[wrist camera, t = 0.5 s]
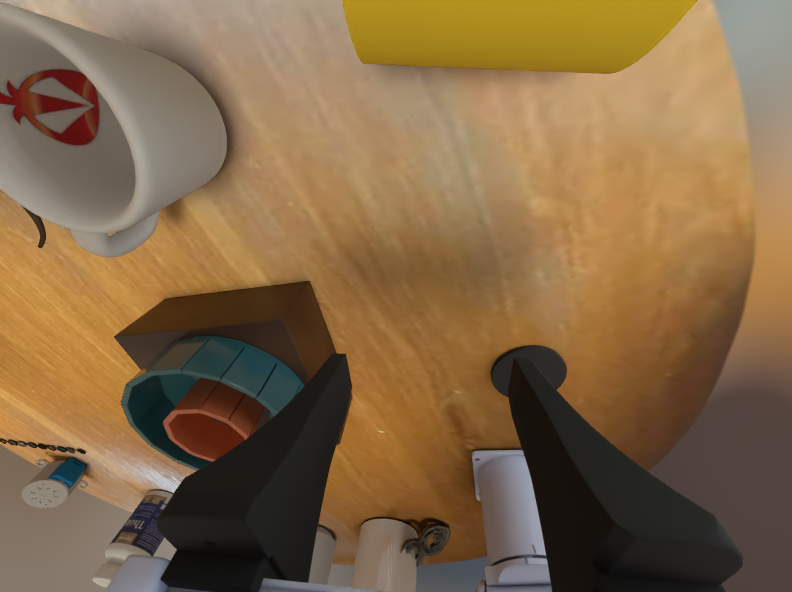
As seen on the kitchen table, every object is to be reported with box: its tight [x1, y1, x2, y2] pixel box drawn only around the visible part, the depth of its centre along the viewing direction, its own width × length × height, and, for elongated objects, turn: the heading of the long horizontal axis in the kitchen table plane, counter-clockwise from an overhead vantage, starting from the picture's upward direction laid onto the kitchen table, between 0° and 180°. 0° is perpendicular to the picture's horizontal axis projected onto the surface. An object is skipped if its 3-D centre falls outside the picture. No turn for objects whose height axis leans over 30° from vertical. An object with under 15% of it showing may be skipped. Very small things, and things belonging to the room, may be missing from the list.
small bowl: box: [163, 378, 269, 462], centre depth 22 cm, size 6×6×3 cm
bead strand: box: [0, 439, 86, 454], centre depth 41 cm, size 20×1×1 cm
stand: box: [114, 281, 352, 445], centre depth 26 cm, size 13×13×5 cm
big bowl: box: [121, 336, 304, 471], centre depth 22 cm, size 12×12×3 cm
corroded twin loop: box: [400, 524, 450, 567], centre depth 41 cm, size 5×8×1 cm
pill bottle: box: [92, 490, 173, 588], centre depth 42 cm, size 5×5×10 cm
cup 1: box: [0, 2, 227, 257], centre depth 16 cm, size 11×8×8 cm
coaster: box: [491, 346, 567, 397], centre depth 26 cm, size 6×6×1 cm
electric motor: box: [22, 458, 88, 508], centre depth 42 cm, size 7×5×5 cm
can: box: [308, 527, 336, 585], centre depth 42 cm, size 8×8×12 cm
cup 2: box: [351, 519, 417, 592], centre depth 39 cm, size 8×12×10 cm
